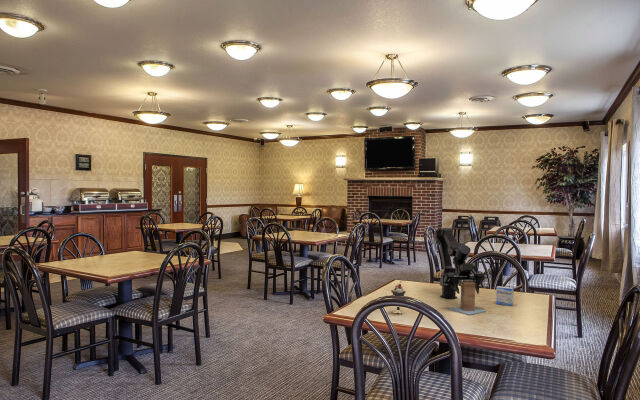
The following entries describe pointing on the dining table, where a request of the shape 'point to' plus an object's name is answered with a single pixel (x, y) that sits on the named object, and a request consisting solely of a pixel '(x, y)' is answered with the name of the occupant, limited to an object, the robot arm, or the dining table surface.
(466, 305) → the walnut block
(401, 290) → the sundae
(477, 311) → the slate mat
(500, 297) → the medicine box
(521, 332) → the dining table surface
